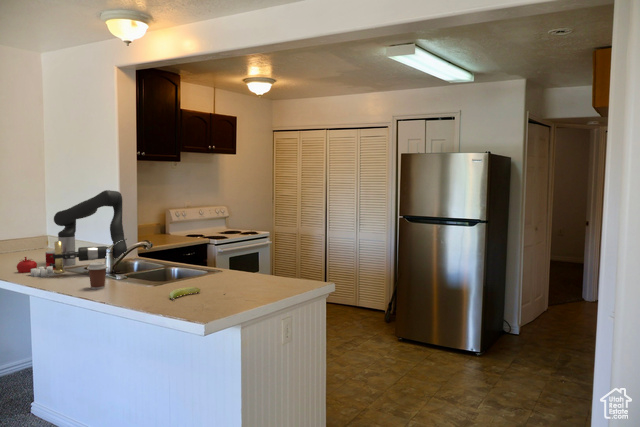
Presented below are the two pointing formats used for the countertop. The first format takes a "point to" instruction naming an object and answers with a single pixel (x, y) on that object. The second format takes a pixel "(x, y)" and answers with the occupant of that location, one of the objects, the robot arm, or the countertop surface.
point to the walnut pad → (59, 275)
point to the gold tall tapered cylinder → (59, 261)
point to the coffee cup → (97, 274)
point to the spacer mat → (42, 272)
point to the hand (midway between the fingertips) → (53, 256)
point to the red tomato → (26, 266)
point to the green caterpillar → (183, 291)
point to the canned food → (50, 259)
